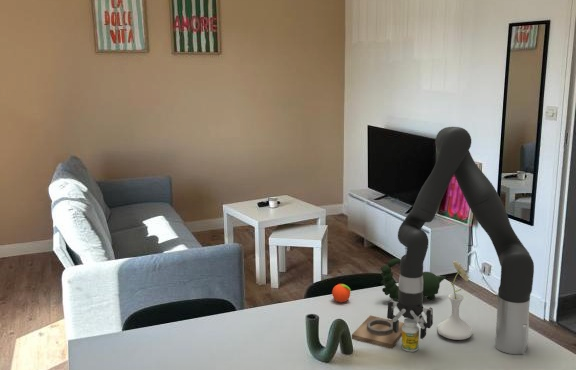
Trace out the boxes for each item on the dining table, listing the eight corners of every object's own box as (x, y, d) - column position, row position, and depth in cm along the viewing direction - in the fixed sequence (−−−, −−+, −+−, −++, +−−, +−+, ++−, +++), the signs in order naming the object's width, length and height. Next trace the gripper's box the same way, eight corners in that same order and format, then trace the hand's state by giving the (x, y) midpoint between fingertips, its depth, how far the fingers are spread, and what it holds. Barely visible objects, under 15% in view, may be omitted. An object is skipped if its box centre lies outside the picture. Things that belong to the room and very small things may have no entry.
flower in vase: (474, 344, 181) (477, 271, 176) (437, 341, 184) (440, 269, 178) (469, 325, 194) (473, 257, 188) (435, 323, 196) (438, 255, 191)
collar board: (408, 327, 194) (408, 319, 193) (391, 348, 180) (391, 339, 180) (370, 319, 201) (370, 311, 200) (351, 338, 187) (351, 330, 187)
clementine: (355, 300, 216) (355, 283, 215) (347, 307, 211) (347, 289, 209) (337, 296, 221) (337, 279, 219) (329, 302, 215) (328, 285, 213)
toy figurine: (388, 312, 209) (452, 301, 212) (384, 265, 205) (449, 254, 207) (380, 302, 218) (442, 291, 221) (377, 256, 214) (439, 246, 216)
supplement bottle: (415, 343, 183) (415, 316, 181) (421, 351, 178) (421, 323, 176) (399, 344, 183) (399, 317, 180) (404, 353, 177) (405, 325, 175)
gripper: (436, 287, 176) (434, 335, 179) (393, 279, 183) (392, 325, 186) (429, 296, 169) (427, 345, 173) (384, 287, 177) (383, 334, 180)
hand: (409, 334), depth 180 cm, fingers open, 8 cm apart
